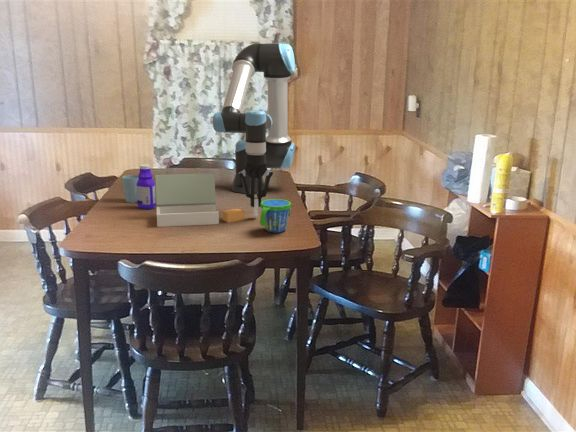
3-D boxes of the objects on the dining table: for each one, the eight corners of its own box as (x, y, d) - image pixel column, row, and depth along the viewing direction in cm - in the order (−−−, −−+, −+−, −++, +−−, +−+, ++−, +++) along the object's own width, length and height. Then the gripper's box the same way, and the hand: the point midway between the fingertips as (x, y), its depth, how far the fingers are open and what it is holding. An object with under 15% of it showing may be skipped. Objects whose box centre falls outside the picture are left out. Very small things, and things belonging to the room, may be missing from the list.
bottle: (158, 206, 236) (156, 164, 232) (151, 210, 231) (148, 166, 227) (143, 205, 239) (140, 163, 234) (135, 208, 233) (132, 165, 229)
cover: (215, 204, 223) (215, 203, 224) (214, 173, 222) (214, 173, 223) (156, 206, 218) (156, 206, 219) (155, 175, 217) (155, 174, 218)
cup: (143, 202, 243) (142, 177, 240) (124, 204, 240) (123, 179, 237) (140, 198, 250) (138, 174, 247) (122, 199, 247) (120, 175, 244)
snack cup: (271, 238, 199) (272, 209, 196) (249, 231, 205) (249, 203, 202) (300, 228, 210) (301, 201, 207) (278, 222, 217) (279, 196, 214)
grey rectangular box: (215, 215, 225) (215, 203, 224) (218, 224, 214) (218, 212, 213) (157, 217, 221) (156, 206, 220) (157, 226, 209) (156, 214, 208)
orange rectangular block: (238, 217, 224) (238, 208, 223) (244, 220, 220) (244, 210, 219) (222, 220, 220) (222, 211, 219) (228, 222, 216) (228, 213, 215)
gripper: (271, 151, 220) (270, 211, 226) (236, 152, 217) (237, 213, 224) (275, 154, 213) (274, 216, 219) (239, 155, 210) (240, 218, 216)
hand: (255, 214), depth 221 cm, fingers closed
